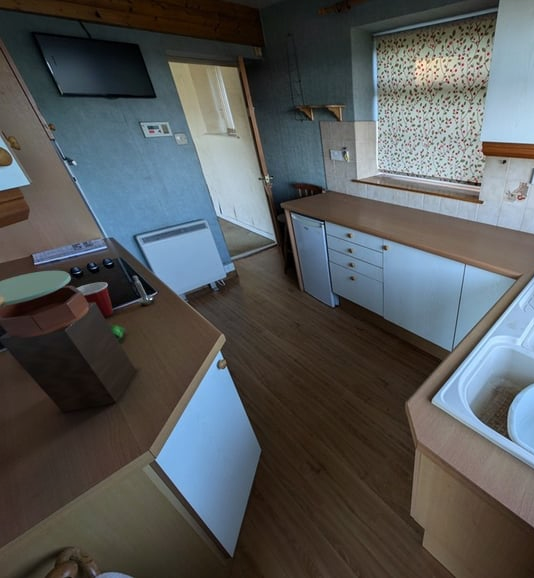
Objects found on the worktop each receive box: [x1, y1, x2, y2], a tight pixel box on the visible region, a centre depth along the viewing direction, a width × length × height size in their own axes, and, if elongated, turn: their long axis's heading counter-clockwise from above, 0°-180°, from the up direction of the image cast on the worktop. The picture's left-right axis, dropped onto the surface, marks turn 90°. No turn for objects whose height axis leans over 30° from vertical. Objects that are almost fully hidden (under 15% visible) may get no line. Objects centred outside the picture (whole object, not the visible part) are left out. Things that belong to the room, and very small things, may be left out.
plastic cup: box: [75, 281, 114, 319], centre depth 109 cm, size 11×11×12 cm
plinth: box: [0, 285, 137, 413], centre depth 75 cm, size 14×14×30 cm
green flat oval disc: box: [0, 270, 72, 307], centre depth 59 cm, size 26×15×3 cm, turn 15°
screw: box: [132, 275, 154, 306], centre depth 116 cm, size 13×5×5 cm
